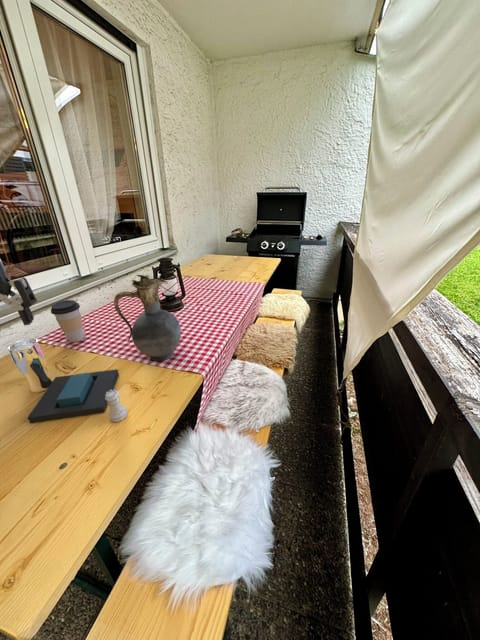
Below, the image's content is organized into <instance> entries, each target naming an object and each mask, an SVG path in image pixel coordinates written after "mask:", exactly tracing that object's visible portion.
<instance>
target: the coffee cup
mask: <svg viewBox="0 0 480 640" xmlns="http://www.w3.org/2000/svg"><path fill="white" fill-rule="evenodd" d="M80 307H81V305H80V303H79V302H77V301H76V300H74V299H67V300H61V301H58V302H56V303H53V304H52V305H51V308H50V313H51V314H52V315H54V317H55V320H56V322H57V324H58V325H59V327H60V329H61V331H62V332H63V334H64V335H65V337H66V339H67V341H68V342H69V343H77V342H80V341H82V340H84V339H85V338H86V335H85V329H84V323H83V318H82V313H81V311H80Z"/></svg>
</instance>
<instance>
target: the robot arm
mask: <svg viewBox="0 0 480 640" xmlns="http://www.w3.org/2000/svg"><path fill="white" fill-rule="evenodd" d="M12 288H13V289H12ZM9 296H10V297H9ZM37 301H38V299H37V297H36V295H35V293H34V292H33V289H32V286H31V285H30V283H29V281H28V279H27V278H26V277H24V276H22V277H19V278H17V279H10V278H9V277H8V276H7V272H6V268H5V266H4V264H3V261H2V259H1V258H0V303H1V302H2V303H4V304H6V305H7V306H12V307H13V308H15V309H16V310H17V313H18V315H19V317H20V319H21V321H22V324H23V326H30V325H31V324H32V323H33V321H34V320H35V317H34V315H33V313H32V310H31V308H30V307H32V306H33V305H35V304H36V303H37Z"/></svg>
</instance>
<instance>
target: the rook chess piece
mask: <svg viewBox="0 0 480 640" xmlns="http://www.w3.org/2000/svg"><path fill="white" fill-rule="evenodd" d="M119 396H120V392H119V391H118V390H116V389H113V391H112V390H110V392H107V394H106V396H105V399H106V400H107V401H108V405H109V410H108V419H109V421H110V422H114V423H118V422H121V421H122V420H125V418H126V417H127V415H128V409H127V407H126V406H125V405H123V404H122V403H121V400H120V397H119Z"/></svg>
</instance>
